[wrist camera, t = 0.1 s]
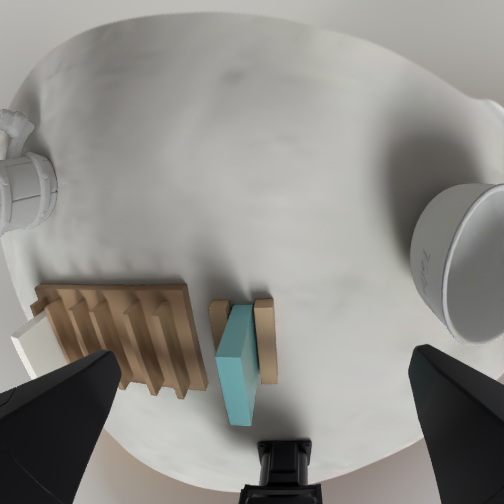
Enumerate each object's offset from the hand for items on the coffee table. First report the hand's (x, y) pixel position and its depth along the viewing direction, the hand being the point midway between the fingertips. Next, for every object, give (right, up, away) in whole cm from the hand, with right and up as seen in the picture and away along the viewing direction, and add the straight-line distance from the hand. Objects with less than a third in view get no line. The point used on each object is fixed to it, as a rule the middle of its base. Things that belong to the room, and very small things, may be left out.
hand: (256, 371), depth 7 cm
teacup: (+18, +3, +12) cm, 22 cm away
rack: (-14, -5, +18) cm, 24 cm away
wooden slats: (-1, -4, +17) cm, 17 cm away
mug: (-22, +12, +14) cm, 29 cm away
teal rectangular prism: (-1, -4, +17) cm, 17 cm away
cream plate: (-21, -6, +18) cm, 28 cm away
